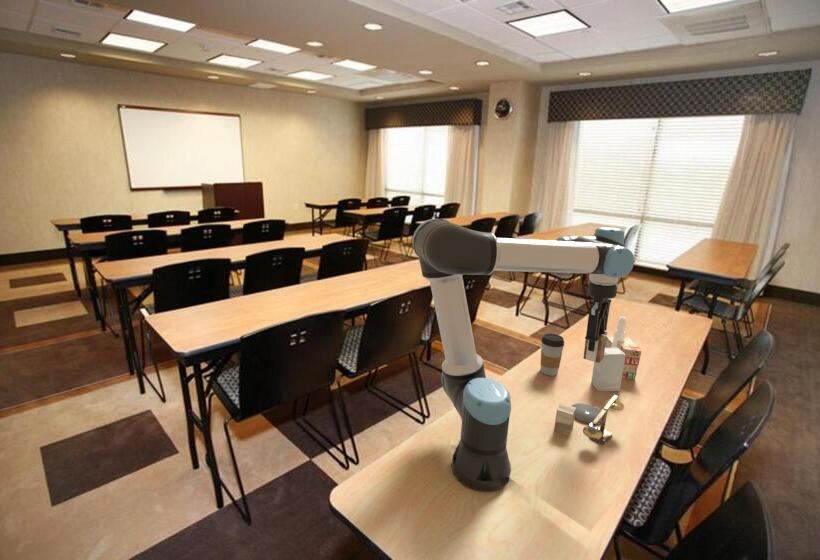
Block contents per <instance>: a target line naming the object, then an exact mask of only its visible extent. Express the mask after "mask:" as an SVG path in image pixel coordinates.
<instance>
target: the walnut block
mask: <svg viewBox="0 0 820 560" xmlns="http://www.w3.org/2000/svg"><path fill="white" fill-rule="evenodd" d="M607 336H608V335H607ZM607 336H606V335H603V334H602V335H600V334H598V347H597V355H596V361H595V362H598V363H600V362H601V360H602V359H603V358H604V352H605V345H606V337H607ZM587 343H588V339H585V343H584V350H583V351H584V352H583V359H584V360H586V351H587Z"/></svg>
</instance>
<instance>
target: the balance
mask: <svg viewBox="0 0 820 560" xmlns="http://www.w3.org/2000/svg"><path fill="white" fill-rule="evenodd" d="M618 398H619V396H618V395H616V394H614V395H613V396H612V397H611V398H610V399H607V400H605V403H604V404H605V406H604V407H603V408H602V409H601V412H600V413H599V414H598V416H597V417H596V418H595V419H594V421H593V422H592V423H591V424H588V425H587V426H584V427H583V429H582V433H583V435H584V436H586V437H588V438H589V439H592V440H593V441H595V442H596V443H600V445H605V443H606V442H607V441H609V440H610V439H611V438H612V437H613V432H611V431H608V430H606V429H605V428H606V422H607V417H608V411H609V410H610V409H611V410H613V411H623V410H624V409H625V405H624V404H623V403H622V402H621V401H618V400H619V399H618ZM600 420H601V423H600V426H599V424H598V423H599V421H600Z"/></svg>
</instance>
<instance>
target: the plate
mask: <svg viewBox="0 0 820 560" xmlns="http://www.w3.org/2000/svg"><path fill="white" fill-rule="evenodd" d="M571 406H572V407H575V408H576V412H575V418H574V420H577V421H578V422H581V423H583V424H587V425H589V424H591V423H592V422H593V421H594V419H595V418H596V417H597V416H598V414H599V413H600V412H601V411H602V409H600V408H598V407H596V406H594V405H591V404H587V403H579V402H578V403H574V404H572V405H571ZM599 424H600V425H601V420H600V421H599V423H598V424H597V425H599Z"/></svg>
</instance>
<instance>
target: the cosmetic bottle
mask: <svg viewBox="0 0 820 560" xmlns="http://www.w3.org/2000/svg"><path fill="white" fill-rule="evenodd" d="M626 324H627V317H626V316H619V318H618V320H617V325H616V329H615V331H614V334H613V336H614V338H613V343H612V347H611V348H617V344H618V341H621V342H623V341H625V338H626Z"/></svg>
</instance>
